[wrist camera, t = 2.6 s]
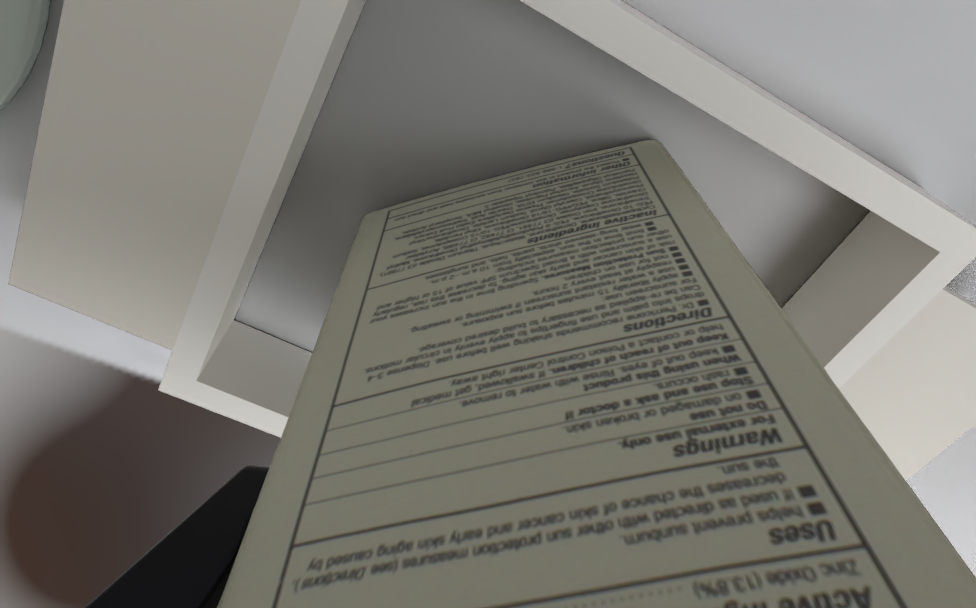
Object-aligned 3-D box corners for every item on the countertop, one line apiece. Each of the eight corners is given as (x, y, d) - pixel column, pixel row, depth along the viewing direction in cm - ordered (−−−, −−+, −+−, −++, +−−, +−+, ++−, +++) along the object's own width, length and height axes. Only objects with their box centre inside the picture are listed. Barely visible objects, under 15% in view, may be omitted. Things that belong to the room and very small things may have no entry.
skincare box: (423, 373, 16) (277, 1291, 6) (358, 205, 14) (-87, 1197, 3) (702, 315, 15) (1157, 1294, 5) (679, 126, 13) (1439, 1170, 2)
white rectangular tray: (1030, 255, 14) (1112, 312, 12) (717, 543, 19) (741, 616, 17) (194, -266, 10) (122, -301, 8) (63, 271, 15) (-1, 327, 13)
